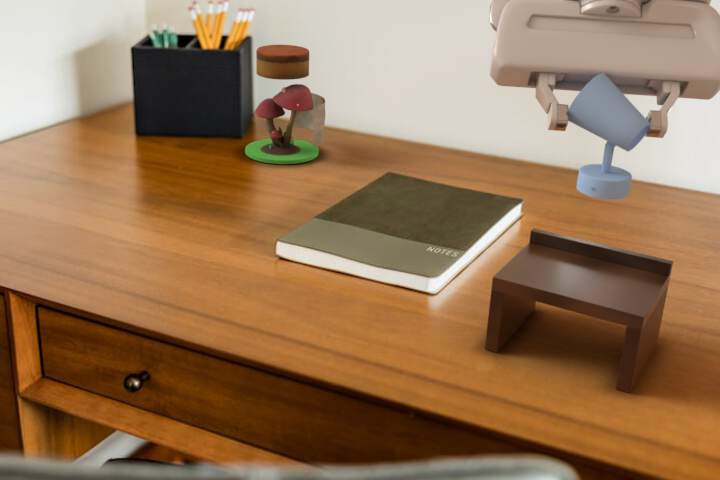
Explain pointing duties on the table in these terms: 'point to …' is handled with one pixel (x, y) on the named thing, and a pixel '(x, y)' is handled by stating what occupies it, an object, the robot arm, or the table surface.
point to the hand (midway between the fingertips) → (607, 131)
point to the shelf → (583, 292)
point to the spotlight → (607, 135)
